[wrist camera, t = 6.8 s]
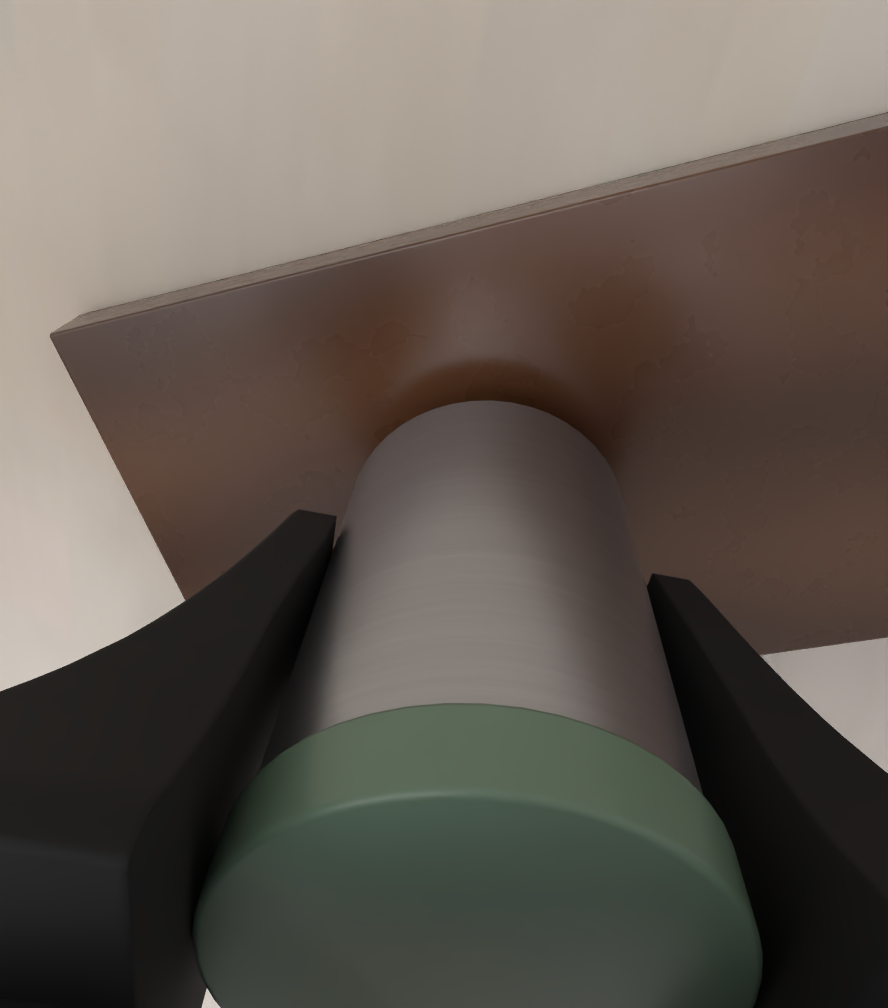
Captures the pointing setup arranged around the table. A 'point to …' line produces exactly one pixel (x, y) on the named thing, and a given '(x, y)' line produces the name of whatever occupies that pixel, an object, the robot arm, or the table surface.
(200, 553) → the board
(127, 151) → the table surface
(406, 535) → the tin
